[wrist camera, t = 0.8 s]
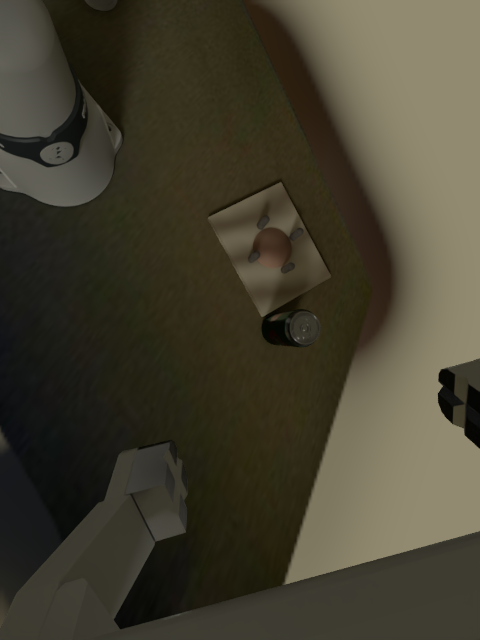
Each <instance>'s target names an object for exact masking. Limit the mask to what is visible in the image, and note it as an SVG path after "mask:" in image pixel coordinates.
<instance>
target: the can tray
mask: <svg viewBox="0 0 480 640" xmlns="http://www.w3.org/2000/svg"><path fill="white" fill-rule="evenodd" d="M208 221H209V223H210V224H211V226H212V228H213V230H214V232H215V233H216V235H217V237H218V239H219V241H220V242H221V244H222V246H223V248H224V250H225V251H226V253H227V255H228V257H229V259H230V261H231V262H232V264H233V266H234V268H235V270H236V271H237V273H238V275H239V277H240V279H241V280H242V282H243V284H244V286H245V288H246V289H247V291H248V293H249V295H250V297H251V299H252V300H253V302H254V304H255V306H256V308H257V309H258V311H259V313H260V315H261V317H263V316H265V315H267V314H268V313H270V312H272V311H274V310H275V309H277V308H279V307H280V306H282V305H284V304H286V303H287V302H289V301H291V300H292V299H294V298H296V297H298V296H299V295H301V294H303V293H304V292H306V291H308V290H309V289H311V288H313V287H315V286H316V285H318V284H320V283H321V282H323V281H325V280H327V279H328V278H330V277H331V275H330V273H329V271H328V269H327V268H326V266H325V264H324V262H323V260H322V258H321V256H320V254H319V253H318V251H317V249H316V247H315V245H314V243H313V241H312V239H311V237H310V236H309V234H308V232H307V230H306V228H305V226H304V224H303V222H302V221H301V219H300V217H299V215H298V213H297V211H296V209H295V207H294V205H293V204H292V202H291V200H290V198H289V196H288V194H287V192H286V190H285V188H284V187H283V185H282V183H281V182H280V183H278V184H276V185H274V186H272V187H270V188H268V189H266V190H264V191H261V192H259V193H257V194H255V195H253V196H251V197H249V198H247V199H245V200H243V201H241V202H239V203H237V204H235V205H233V206H230V207H228V208H226V209H224V210H222V211H220V212H218V213H216V214H214V215H212V216H210V217H208Z"/></svg>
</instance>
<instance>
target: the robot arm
mask: <svg viewBox="0 0 480 640" xmlns="http://www.w3.org/2000/svg"><path fill="white" fill-rule="evenodd" d="M109 129H110V130H111V131H109ZM122 142H123V137H122V134H121V132H120V130H119V129H118V128H117V127H116V126H115V124H114V123H113V122H112V121H111V120H110V118H109V117H108V116H107V115H106V114H105V112H104V111H103V110H102V109H101V107H100V106H99V105H98V104H97V103H96V101H95V100H94V99H93V98H92V97H91V95H90V94H89V93H88V92H87V91H86V89H85V88H84V87H83V86H82V85H81V83H80V81H79V79H78V78H77V76H76V74H75V72H74V70H73V68H72V67H71V65H70V64H69V62H68V61H67V60H66V57H65V54H64V52H63V49H62V46H61V44H60V41H59V38H58V36H57V33H56V30H55V27H54V25H53V22H52V19H51V17H50V14H49V12H48V10H47V8H46V6H45V5H44V3H43V1H42V0H0V172H1V173H2V174H0V188H2V189H4V190H8V191H14V192H22V193H25V194H27V195H29V196H31V197H33V198H35V199H37V200H39V201H41V202H44V203H47V204H50V205H55V206H75V205H80V204H83V203H86V202H88V201H90V200H92V199H94V198H95V197H97V196H98V195H99V194H100V193H101V192H102V191H103V190H104V189H105V188H106V187H107V185H108V184H109V182H110V180H111V177H112V174H113V170H114V160H115V155H116V153H117V152H118V150H119V148H120V147H121V145H122ZM438 380H439V382H440V383H441V384H442V385H443V387H442V388H441V390H440V391H439V393H438V403H439V406H440V408H441V411H442V413H443V414H444V415H445V417H446V418H447V419H448V420H449V421H450V422H451V423H452V424H454V425H457V426H459V427H462V428H464V433H465V436H466V437H467V438H468V439H470V440H471V441H472V442H473V443H474V444H475V445H476V446H477V447H478V448H480V359H476V360H474V361H471V362H467V363H463V364H459V365H456V366H452V367H449V368H445V369H441V371H440V373H439V379H438ZM177 453H178V449H177V447H176V444H175V442H174V441H173V440H168V441H163V442H159V443H155V444H151V445H147V446H142V447H139V448H135V449H131V450H127V451H123V452H121V453H120V454H119V456H118V459H117V462H116V465H115V468H114V472H113V475H112V478H111V481H110V484H109V487H108V491H107V494H106V497H105V500H104V501H103V502H100V503H98V504H97V505H96V506H95V507H94V509H93V510H92V511H91V512H90V513H89V514H88V515H87V516H86V517H85V519H84V520H83V521H82V522H81V523H80V524H79V525H78V526H77V527H76V528H75V530H74V531H73V532H72V533H71V534H70V535H69V536H68V537H67V538H66V539H65V541H64V542H63V543H62V544H61V545H60V546H59V547H58V549H57V550H56V551H55V552H54V553H53V554H52V555H51V556H50V557H49V558H48V560H46V562H45V563H44V564H43V565H42V566H41V567H40V568H39V569H38V570H37V571H36V573H35V574H34V575H33V576H32V577H31V578H30V579H29V580H28V581H27V583H26V584H25V585H24V586H23V587H22V588H21V589H20V591H18V592H17V594H16V596H15V598H14V600H13V602H12V604H11V607H10V609H9V611H8V613H7V615H6V617H5V619H4V622H3V624H2V626H1V628H0V640H480V531H479V532H475V533H472V534H468V535H465V536H461V537H458V538H454V539H450V540H446V541H443V542H439V543H436V544H432V545H428V546H425V547H421V548H418V549H414V550H410V551H407V552H403V553H400V554H396V555H392V556H388V557H385V558H381V559H377V560H374V561H370V562H366V563H363V564H359V565H355V566H352V567H348V568H344V569H341V570H337V571H334V572H330V573H326V574H323V575H319V576H315V577H311V578H308V579H304V580H300V581H297V582H293V583H290V584H286V585H282V586H279V587H275V588H271V589H268V590H264V591H260V592H257V593H253V594H249V595H246V596H242V597H238V598H235V599H231V600H228V601H224V602H220V603H217V604H213V605H209V606H206V607H202V608H198V609H195V610H191V611H187V612H184V613H180V614H177V615H173V616H169V617H166V618H162V619H158V620H155V621H151V622H147V623H144V624H140V625H136V626H133V627H129V628H126V629H122V630H120V629H119V627H118V626H117V624H116V623H115V622H114V618H115V616H116V614H117V612H118V610H119V609H120V607H121V605H122V603H123V601H124V600H125V598H126V596H127V594H128V592H129V590H130V589H131V587H132V585H133V583H134V581H135V579H136V578H137V576H138V574H139V572H140V570H141V569H142V567H143V565H144V563H145V561H146V559H147V558H148V556H149V554H150V552H151V550H152V548H153V547H154V545H155V541H159V540H162V539H165V538H168V537H172V536H175V535H178V534H182V533H185V532H186V518H187V508H186V506H185V503H184V499H185V498H186V496H187V495H188V483H187V475H186V471H185V467H184V464H183V461H182V460H180V459H178V458H177Z"/></svg>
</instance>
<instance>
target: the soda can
mask: <svg viewBox="0 0 480 640" xmlns="http://www.w3.org/2000/svg"><path fill="white" fill-rule="evenodd" d="M320 330H321V327H320V322H319V320H318V318H317V317H316V316H315V315H314V314H313V313H312V312H310V311H308V310H304V309H299V310H293V311H288V312H283V313H278V314H273V315H270V316H269V317H267V318H266V319H265V321H264V322H263V325H262V334H263V337H264V338H265V340H266V341H267V342H268V343H270V344H273V345H281V346H293V347H307V346H309V345H311V344H313V343H314V342H315V341H316V339H317V338H318V337H319V334H320Z"/></svg>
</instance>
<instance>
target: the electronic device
mask: <svg viewBox="0 0 480 640" xmlns="http://www.w3.org/2000/svg"><path fill="white" fill-rule="evenodd" d="M84 1H85V2H86V3H87V4H88V5H89V6H90V7H92V8H94V9H96V10H100V11H108V10H111V9H112V8H114V7H115V5H116V3H117V1H118V0H84Z"/></svg>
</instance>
